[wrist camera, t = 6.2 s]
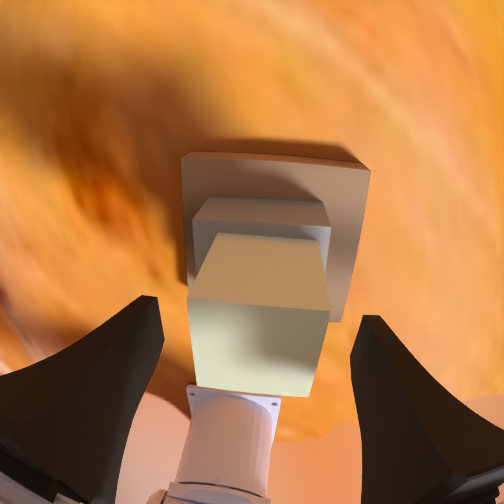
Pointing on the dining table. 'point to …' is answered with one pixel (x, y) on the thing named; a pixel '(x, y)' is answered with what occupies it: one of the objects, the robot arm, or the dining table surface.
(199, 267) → the slate cube
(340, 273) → the walnut slab
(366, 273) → the dining table surface
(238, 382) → the sage block
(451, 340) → the dining table surface
